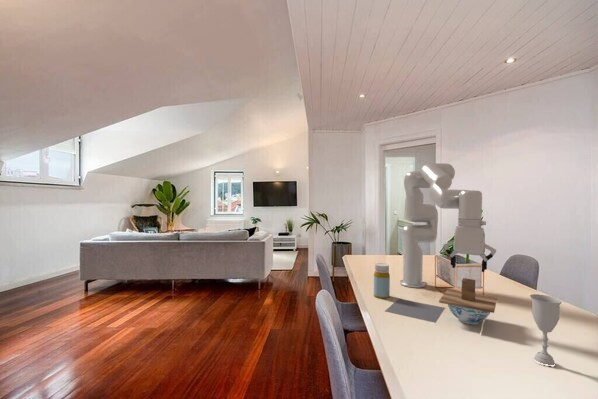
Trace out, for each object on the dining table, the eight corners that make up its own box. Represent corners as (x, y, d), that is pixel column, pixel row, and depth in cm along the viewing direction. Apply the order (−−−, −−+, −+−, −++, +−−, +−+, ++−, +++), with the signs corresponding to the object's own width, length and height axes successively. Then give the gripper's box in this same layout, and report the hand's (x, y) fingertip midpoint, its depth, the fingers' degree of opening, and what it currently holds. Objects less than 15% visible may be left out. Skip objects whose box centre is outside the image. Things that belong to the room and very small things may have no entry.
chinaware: (489, 318, 119) (489, 298, 119) (494, 333, 105) (495, 310, 105) (445, 311, 125) (446, 292, 125) (446, 325, 112) (446, 304, 112)
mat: (398, 299, 139) (398, 298, 139) (445, 308, 129) (445, 307, 129) (384, 312, 124) (384, 311, 124) (435, 323, 113) (435, 322, 113)
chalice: (522, 356, 90) (523, 294, 90) (544, 355, 91) (545, 294, 91) (544, 370, 83) (545, 303, 83) (568, 369, 84) (569, 302, 83)
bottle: (387, 295, 146) (388, 263, 145) (390, 300, 139) (391, 266, 138) (372, 294, 146) (373, 262, 146) (374, 299, 139) (375, 266, 139)
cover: (447, 291, 127) (447, 272, 127) (496, 299, 117) (496, 278, 117) (439, 302, 113) (439, 281, 113) (494, 312, 103) (494, 289, 103)
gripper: (497, 224, 113) (496, 271, 114) (445, 221, 123) (444, 264, 124) (496, 226, 107) (495, 275, 108) (442, 222, 117) (441, 267, 117)
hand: (468, 269), depth 116 cm, fingers open, 9 cm apart
